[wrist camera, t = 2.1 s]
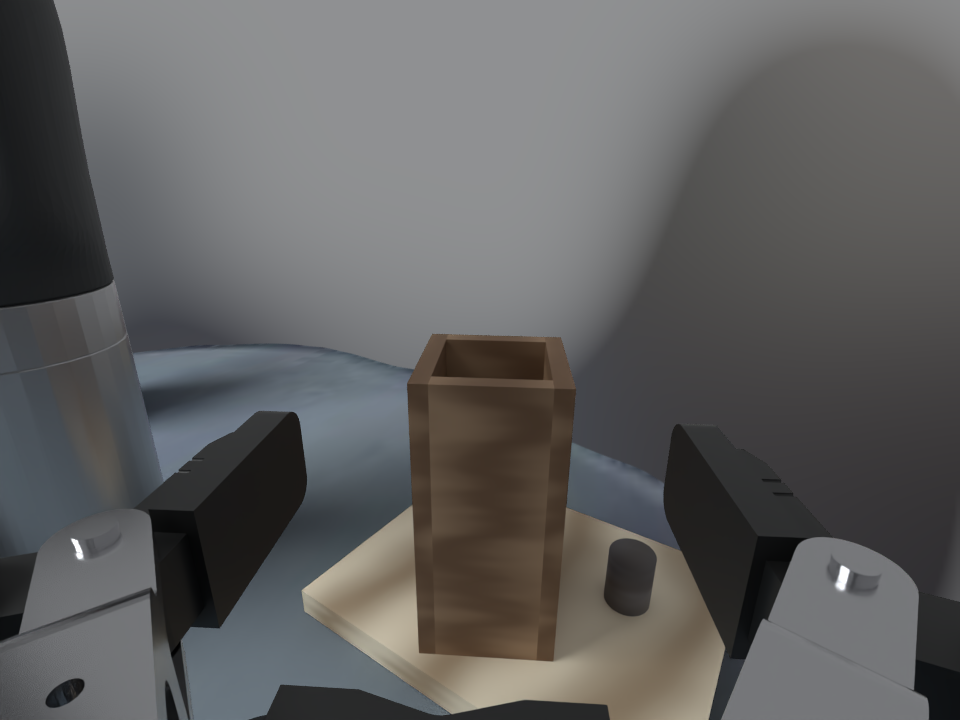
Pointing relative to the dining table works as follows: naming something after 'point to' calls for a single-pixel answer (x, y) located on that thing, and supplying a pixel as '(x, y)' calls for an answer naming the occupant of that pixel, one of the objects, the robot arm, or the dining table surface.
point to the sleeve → (489, 492)
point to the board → (579, 630)
